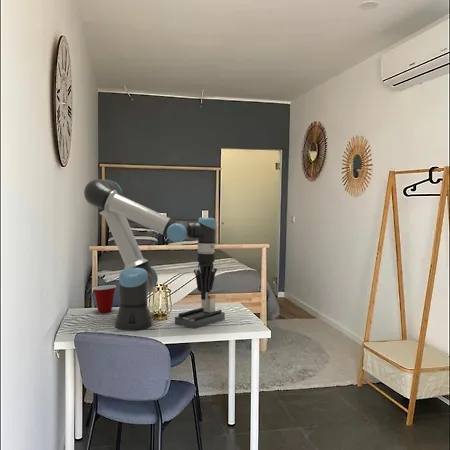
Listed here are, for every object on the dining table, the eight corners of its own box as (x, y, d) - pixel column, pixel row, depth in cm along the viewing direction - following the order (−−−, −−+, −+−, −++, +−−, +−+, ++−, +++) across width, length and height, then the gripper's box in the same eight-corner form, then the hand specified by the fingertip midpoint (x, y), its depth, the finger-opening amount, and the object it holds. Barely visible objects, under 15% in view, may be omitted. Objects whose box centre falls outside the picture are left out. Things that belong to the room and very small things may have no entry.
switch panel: (193, 328, 204) (193, 318, 204) (174, 324, 211) (174, 313, 211) (224, 319, 219) (224, 309, 219) (206, 315, 226) (206, 305, 226)
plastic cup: (103, 308, 239) (102, 283, 238) (121, 310, 234) (120, 285, 234) (87, 312, 229) (87, 287, 229) (106, 315, 225) (105, 289, 224)
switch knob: (210, 312, 217) (210, 296, 217) (203, 311, 220) (203, 294, 219) (215, 311, 219) (215, 295, 219) (208, 310, 222) (208, 293, 222)
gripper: (202, 254, 209) (201, 309, 209) (222, 253, 218) (220, 306, 219) (190, 252, 213) (188, 307, 214) (209, 251, 223) (207, 304, 224)
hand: (204, 306), depth 216 cm, fingers closed
